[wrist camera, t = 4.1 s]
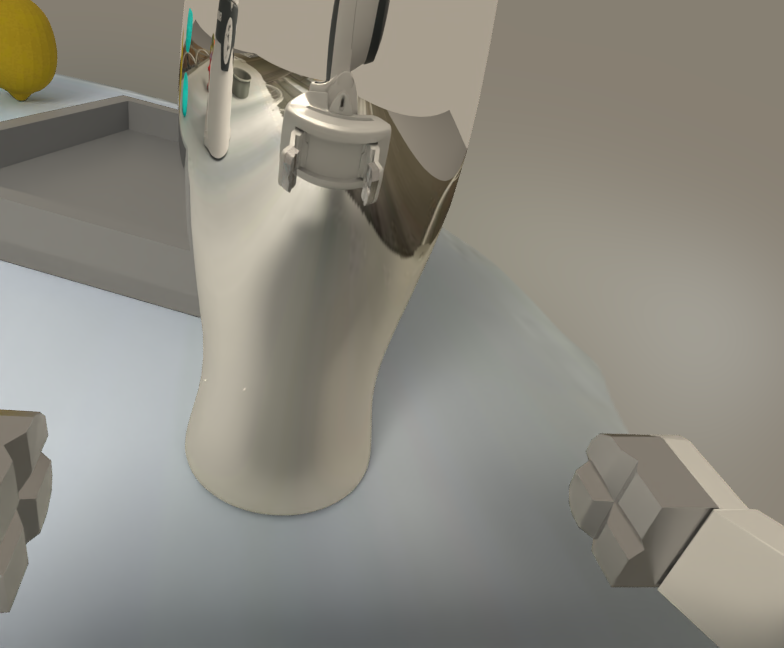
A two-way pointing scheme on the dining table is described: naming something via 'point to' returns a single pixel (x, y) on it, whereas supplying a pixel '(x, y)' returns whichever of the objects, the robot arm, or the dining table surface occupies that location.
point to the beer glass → (312, 221)
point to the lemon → (25, 48)
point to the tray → (99, 199)
